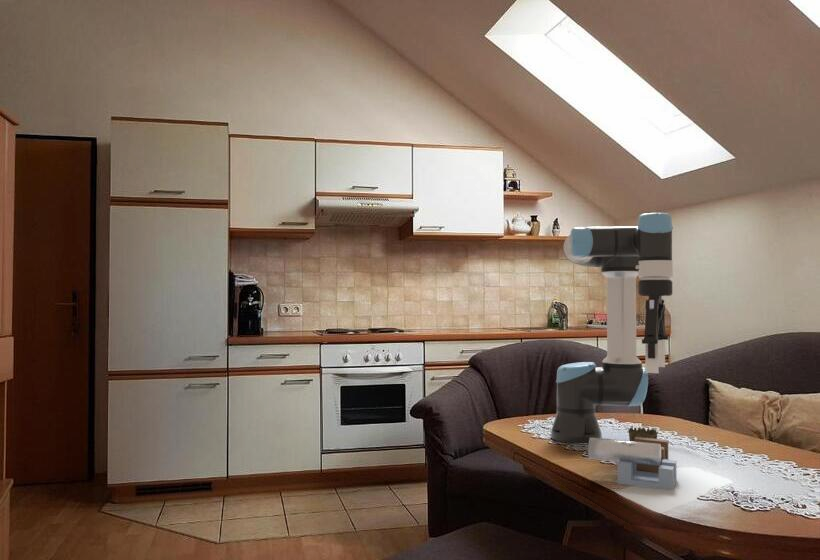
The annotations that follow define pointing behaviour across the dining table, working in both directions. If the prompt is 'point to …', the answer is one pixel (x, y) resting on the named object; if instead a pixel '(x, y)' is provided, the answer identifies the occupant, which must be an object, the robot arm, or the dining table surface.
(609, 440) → the white long block
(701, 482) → the dining table surface
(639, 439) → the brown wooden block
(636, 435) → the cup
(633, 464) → the cradle
